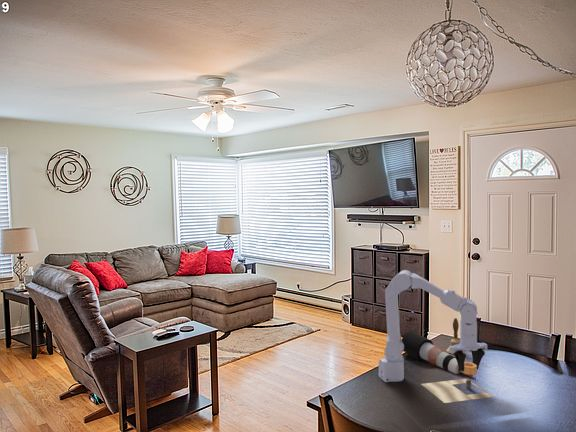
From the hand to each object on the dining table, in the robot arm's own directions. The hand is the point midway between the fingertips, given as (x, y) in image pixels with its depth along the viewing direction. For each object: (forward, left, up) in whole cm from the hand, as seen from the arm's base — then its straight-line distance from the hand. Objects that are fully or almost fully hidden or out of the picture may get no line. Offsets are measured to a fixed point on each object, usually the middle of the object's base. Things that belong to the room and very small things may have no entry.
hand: (468, 369), depth 162 cm
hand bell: (+20, +38, -9) cm, 44 cm away
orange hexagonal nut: (0, 0, -1) cm, 1 cm away
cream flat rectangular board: (-5, 0, -8) cm, 10 cm away
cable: (+2, +25, -9) cm, 27 cm away
